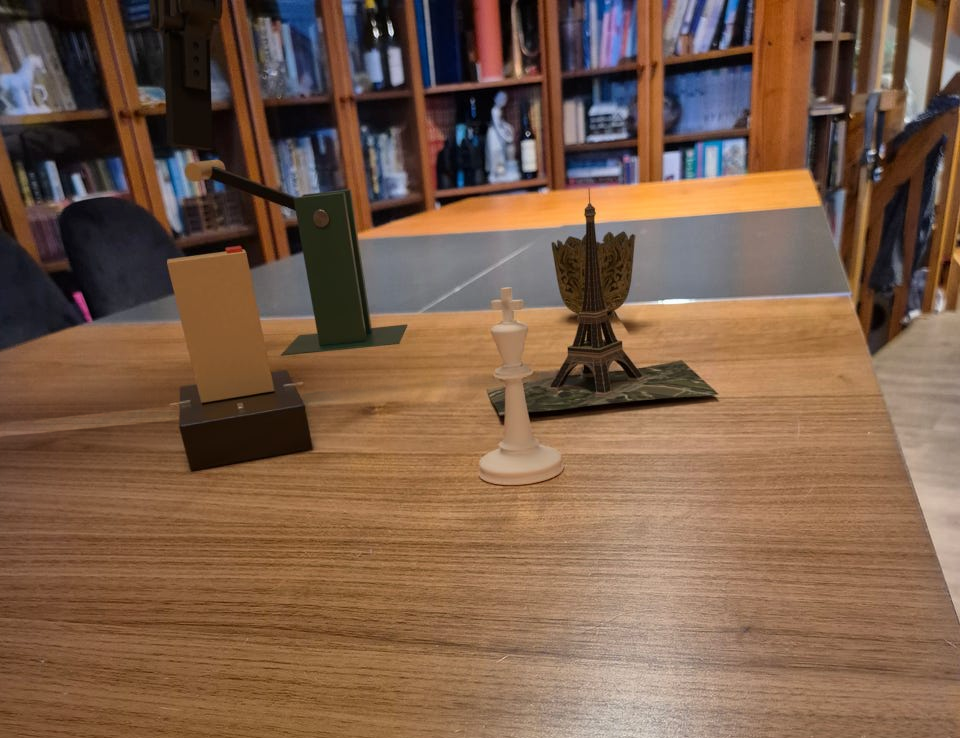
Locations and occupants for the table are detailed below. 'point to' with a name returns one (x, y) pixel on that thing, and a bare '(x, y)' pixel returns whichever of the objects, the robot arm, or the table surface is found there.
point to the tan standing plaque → (221, 324)
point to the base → (243, 425)
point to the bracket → (336, 277)
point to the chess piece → (516, 410)
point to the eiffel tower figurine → (602, 359)
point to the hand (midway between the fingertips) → (190, 146)
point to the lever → (236, 182)
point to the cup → (612, 268)
